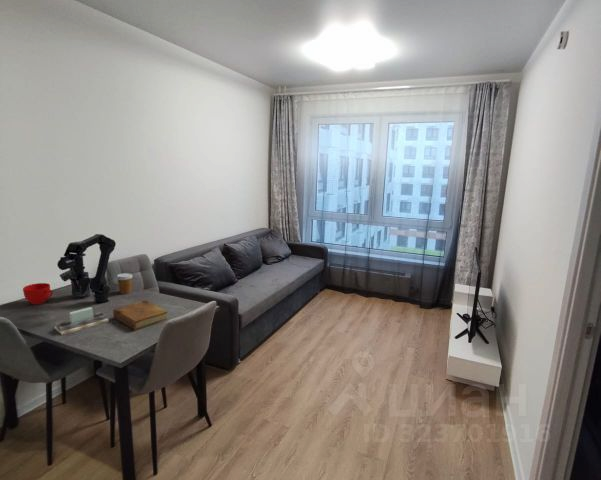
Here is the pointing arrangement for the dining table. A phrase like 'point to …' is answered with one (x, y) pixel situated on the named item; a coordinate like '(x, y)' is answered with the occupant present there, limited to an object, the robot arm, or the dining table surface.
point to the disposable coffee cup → (124, 282)
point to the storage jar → (77, 293)
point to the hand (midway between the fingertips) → (79, 291)
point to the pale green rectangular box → (81, 315)
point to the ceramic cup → (37, 293)
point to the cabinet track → (81, 323)
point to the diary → (140, 315)
